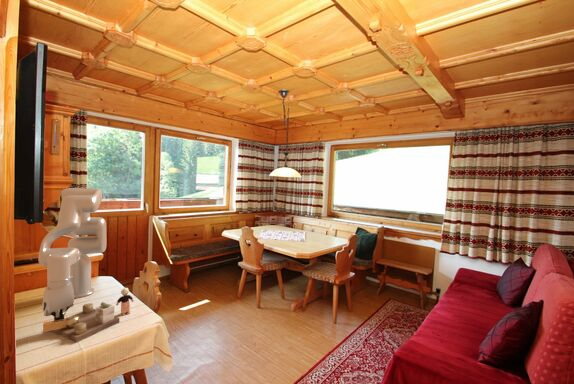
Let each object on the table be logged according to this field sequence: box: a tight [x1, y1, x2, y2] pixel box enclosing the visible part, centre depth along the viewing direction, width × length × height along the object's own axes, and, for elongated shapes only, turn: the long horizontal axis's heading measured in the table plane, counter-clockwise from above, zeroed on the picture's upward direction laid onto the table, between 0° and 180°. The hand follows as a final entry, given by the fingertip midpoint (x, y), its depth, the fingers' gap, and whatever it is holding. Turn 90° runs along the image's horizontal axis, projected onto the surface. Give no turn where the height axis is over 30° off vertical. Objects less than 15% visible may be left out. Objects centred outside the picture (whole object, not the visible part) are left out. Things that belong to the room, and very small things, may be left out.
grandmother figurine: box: [115, 287, 135, 316], centre depth 137 cm, size 8×4×13 cm, turn 148°
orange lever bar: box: [42, 314, 79, 333], centre depth 119 cm, size 12×4×4 cm, turn 120°
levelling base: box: [51, 301, 120, 343], centre depth 126 cm, size 20×18×10 cm
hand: (59, 324), depth 121 cm, fingers closed
